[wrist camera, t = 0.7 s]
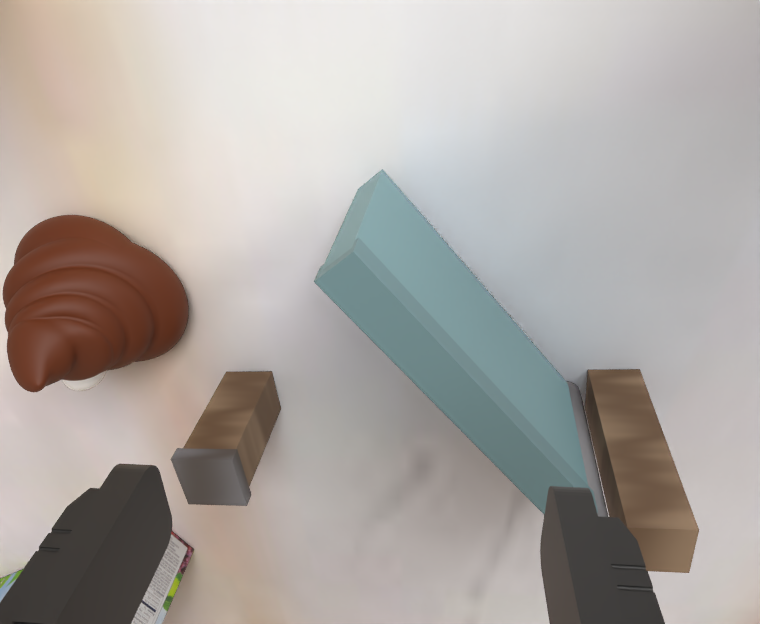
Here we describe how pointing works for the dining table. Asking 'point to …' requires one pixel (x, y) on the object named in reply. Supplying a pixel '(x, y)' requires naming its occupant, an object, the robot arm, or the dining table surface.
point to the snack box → (160, 588)
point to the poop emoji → (87, 304)
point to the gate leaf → (458, 344)
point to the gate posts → (606, 422)
